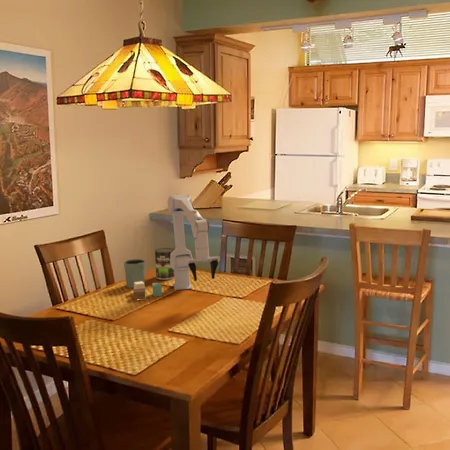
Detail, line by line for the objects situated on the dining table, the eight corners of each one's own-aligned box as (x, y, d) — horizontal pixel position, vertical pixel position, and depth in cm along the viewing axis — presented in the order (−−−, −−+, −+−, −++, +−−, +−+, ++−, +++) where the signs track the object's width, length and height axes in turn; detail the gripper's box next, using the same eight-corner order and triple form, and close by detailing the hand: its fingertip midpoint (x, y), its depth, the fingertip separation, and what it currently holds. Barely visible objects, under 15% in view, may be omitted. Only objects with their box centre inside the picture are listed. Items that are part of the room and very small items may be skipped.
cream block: (134, 292, 254) (133, 282, 253) (142, 291, 256) (142, 281, 255) (136, 295, 251) (136, 284, 250) (145, 293, 252) (144, 283, 251)
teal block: (152, 293, 252) (152, 283, 251) (161, 293, 253) (161, 282, 252) (153, 296, 248) (152, 285, 247) (161, 295, 249) (161, 285, 248)
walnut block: (134, 297, 247) (133, 288, 247) (145, 296, 248) (144, 288, 247) (133, 300, 243) (133, 292, 242) (145, 300, 243) (144, 291, 243)
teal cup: (121, 288, 262) (120, 263, 260) (130, 282, 272) (128, 258, 269) (141, 289, 260) (140, 264, 257) (149, 283, 269) (148, 259, 267)
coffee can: (173, 280, 273) (172, 252, 271) (153, 279, 275) (152, 252, 273) (178, 274, 283) (177, 247, 281) (159, 274, 285) (158, 247, 283)
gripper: (187, 250, 228) (189, 282, 229) (220, 247, 231) (223, 278, 232) (183, 248, 235) (186, 280, 235) (216, 245, 238) (218, 276, 239)
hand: (204, 279), depth 234 cm, fingers open, 7 cm apart
